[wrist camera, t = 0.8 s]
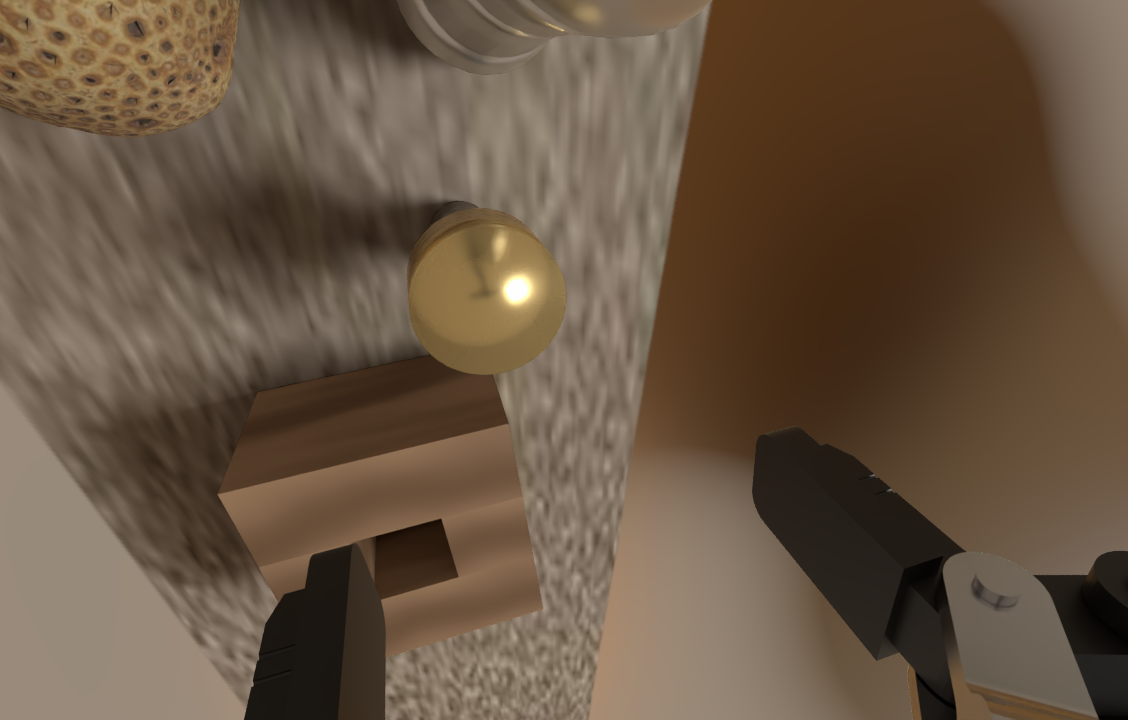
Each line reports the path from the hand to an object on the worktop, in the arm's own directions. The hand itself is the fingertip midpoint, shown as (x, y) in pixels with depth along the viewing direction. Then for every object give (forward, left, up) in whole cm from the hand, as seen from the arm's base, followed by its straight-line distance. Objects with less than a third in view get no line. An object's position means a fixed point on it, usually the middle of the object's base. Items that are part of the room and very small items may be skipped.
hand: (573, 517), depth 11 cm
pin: (0, 0, -20) cm, 20 cm away
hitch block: (+13, -6, -20) cm, 25 cm away
